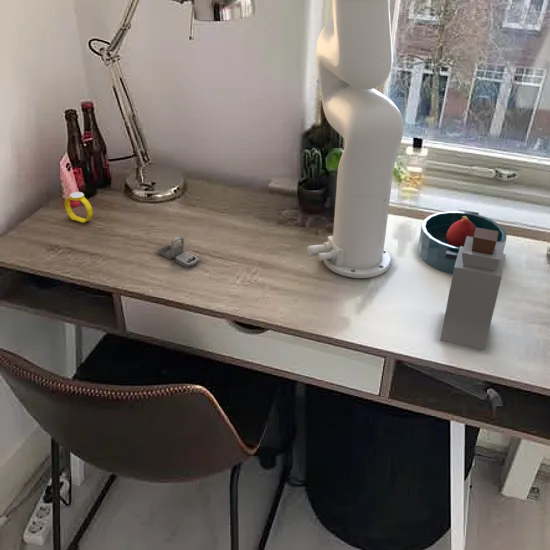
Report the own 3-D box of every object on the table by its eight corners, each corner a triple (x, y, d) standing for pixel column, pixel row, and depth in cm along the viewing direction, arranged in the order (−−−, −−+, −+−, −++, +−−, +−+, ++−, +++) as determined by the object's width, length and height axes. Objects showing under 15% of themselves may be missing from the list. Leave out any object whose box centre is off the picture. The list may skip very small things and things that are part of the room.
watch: (64, 220, 134) (59, 194, 131) (72, 215, 136) (68, 189, 133) (88, 226, 132) (83, 200, 129) (96, 220, 134) (92, 194, 131)
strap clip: (200, 262, 121) (199, 242, 118) (188, 268, 119) (187, 248, 116) (169, 247, 125) (167, 227, 123) (157, 253, 123) (155, 233, 121)
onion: (472, 247, 127) (479, 210, 122) (476, 262, 122) (485, 224, 118) (441, 245, 127) (448, 208, 123) (445, 260, 122) (452, 222, 118)
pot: (443, 281, 116) (447, 255, 114) (404, 241, 129) (408, 216, 126) (517, 269, 120) (523, 244, 117) (472, 231, 133) (477, 207, 130)
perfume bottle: (440, 340, 102) (459, 240, 92) (446, 316, 107) (465, 220, 98) (484, 350, 100) (508, 249, 90) (488, 325, 105) (511, 228, 96)
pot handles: (467, 262, 114) (468, 257, 114) (444, 257, 115) (445, 253, 115) (478, 216, 129) (479, 212, 129) (457, 213, 130) (458, 209, 130)
